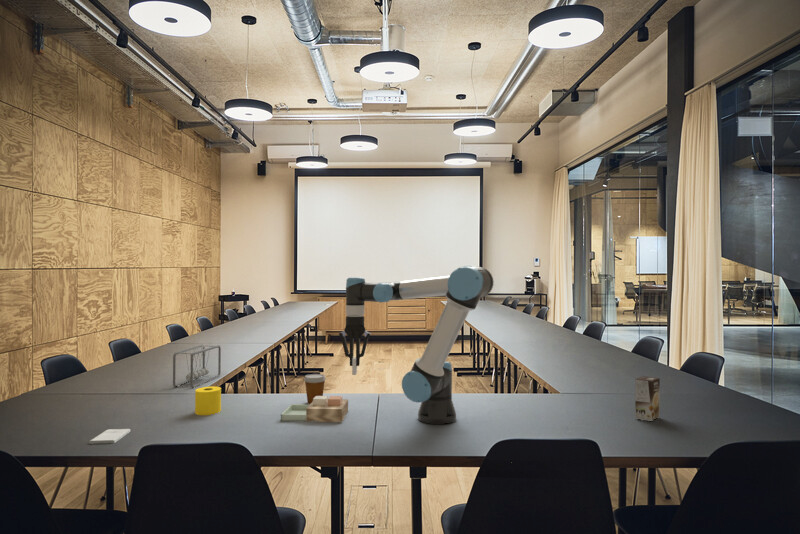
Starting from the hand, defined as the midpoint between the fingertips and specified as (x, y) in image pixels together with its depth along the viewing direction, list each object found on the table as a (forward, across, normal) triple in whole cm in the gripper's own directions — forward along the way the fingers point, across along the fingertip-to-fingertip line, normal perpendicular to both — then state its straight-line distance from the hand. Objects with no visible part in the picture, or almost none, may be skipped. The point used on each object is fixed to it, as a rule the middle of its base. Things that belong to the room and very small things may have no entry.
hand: (354, 374), depth 200 cm
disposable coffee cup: (+18, +21, -20) cm, 34 cm away
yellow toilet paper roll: (+18, +62, -3) cm, 64 cm away
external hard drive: (+18, +82, +30) cm, 89 cm away
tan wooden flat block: (+17, +11, 0) cm, 20 cm away
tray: (+17, +23, 0) cm, 29 cm away
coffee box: (+17, -117, -5) cm, 119 cm away
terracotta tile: (+12, +8, 0) cm, 14 cm away
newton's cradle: (+18, +92, -57) cm, 110 cm away
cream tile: (+12, +14, 0) cm, 18 cm away
